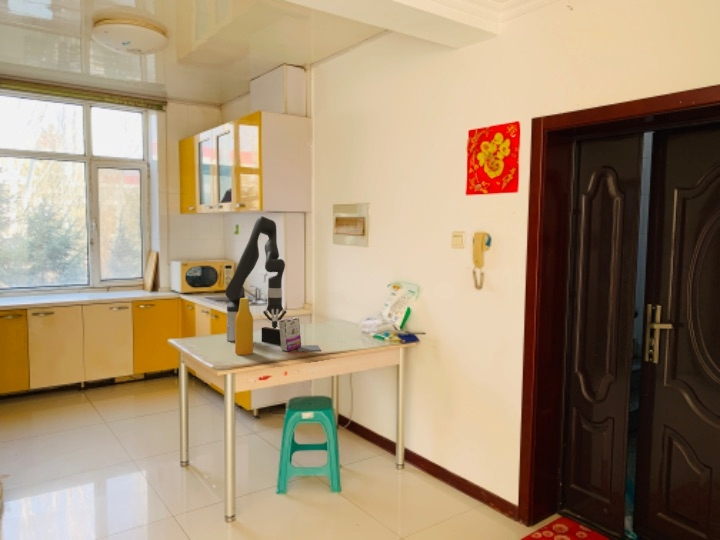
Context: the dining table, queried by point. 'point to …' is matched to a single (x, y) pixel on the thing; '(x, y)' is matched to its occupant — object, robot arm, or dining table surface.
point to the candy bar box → (290, 334)
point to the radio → (271, 335)
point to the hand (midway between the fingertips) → (274, 328)
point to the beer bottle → (244, 329)
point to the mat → (309, 348)
